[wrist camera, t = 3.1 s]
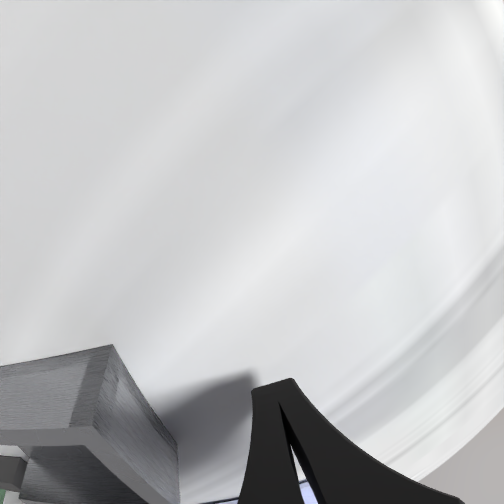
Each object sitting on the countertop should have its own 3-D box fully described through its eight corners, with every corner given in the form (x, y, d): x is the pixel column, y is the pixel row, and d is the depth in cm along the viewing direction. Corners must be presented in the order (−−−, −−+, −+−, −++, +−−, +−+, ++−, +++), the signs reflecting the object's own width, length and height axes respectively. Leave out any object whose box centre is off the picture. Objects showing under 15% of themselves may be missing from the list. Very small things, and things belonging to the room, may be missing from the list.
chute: (177, 444, 12) (180, 511, 9) (41, 454, 11) (29, 506, 8) (112, 344, 10) (92, 425, 6) (-30, 371, 9) (-61, 425, 6)
